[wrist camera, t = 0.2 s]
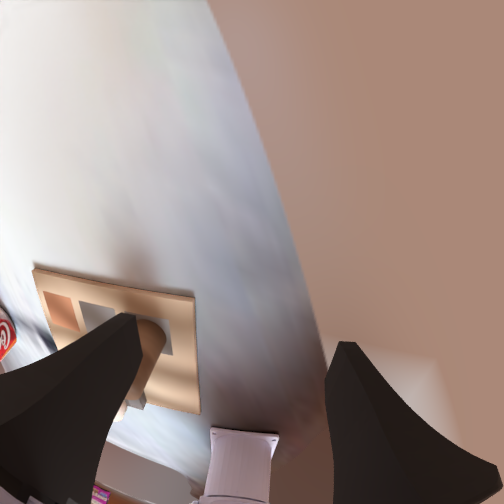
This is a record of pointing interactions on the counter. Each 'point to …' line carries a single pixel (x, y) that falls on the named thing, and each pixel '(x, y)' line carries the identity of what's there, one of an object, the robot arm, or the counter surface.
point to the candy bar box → (100, 495)
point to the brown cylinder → (147, 355)
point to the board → (144, 307)
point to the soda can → (6, 334)
